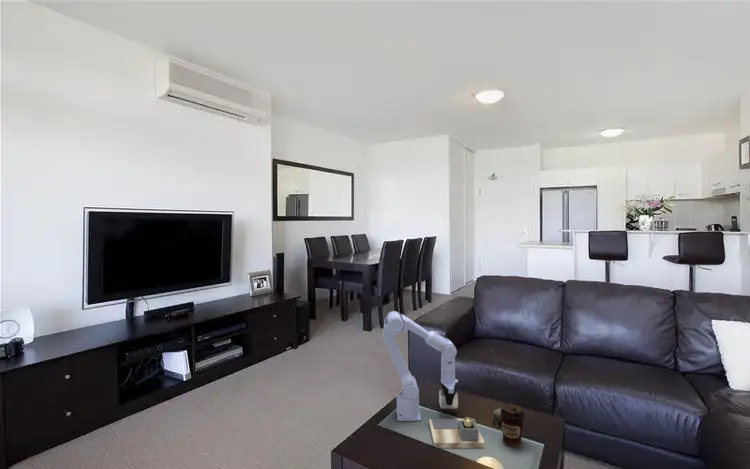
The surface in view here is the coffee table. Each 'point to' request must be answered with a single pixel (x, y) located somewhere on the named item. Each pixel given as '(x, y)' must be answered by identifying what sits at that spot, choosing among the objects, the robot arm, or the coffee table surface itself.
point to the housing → (443, 400)
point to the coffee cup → (512, 424)
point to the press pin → (467, 422)
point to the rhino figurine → (497, 416)
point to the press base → (455, 434)
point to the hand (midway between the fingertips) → (448, 401)
